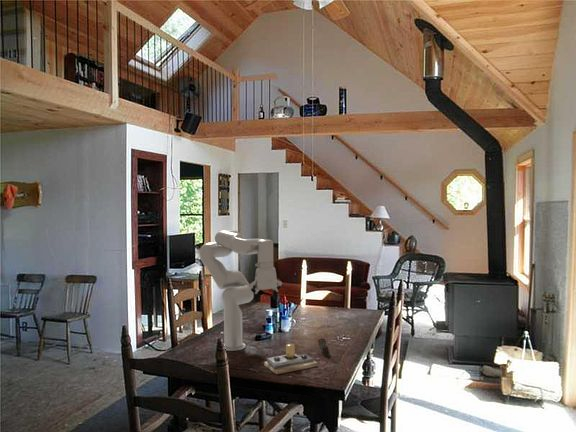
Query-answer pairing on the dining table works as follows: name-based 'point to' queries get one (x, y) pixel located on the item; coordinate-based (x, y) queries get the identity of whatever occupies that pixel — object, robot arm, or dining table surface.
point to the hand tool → (323, 346)
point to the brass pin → (290, 351)
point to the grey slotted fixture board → (288, 361)
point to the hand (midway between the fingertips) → (265, 300)
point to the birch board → (291, 367)
